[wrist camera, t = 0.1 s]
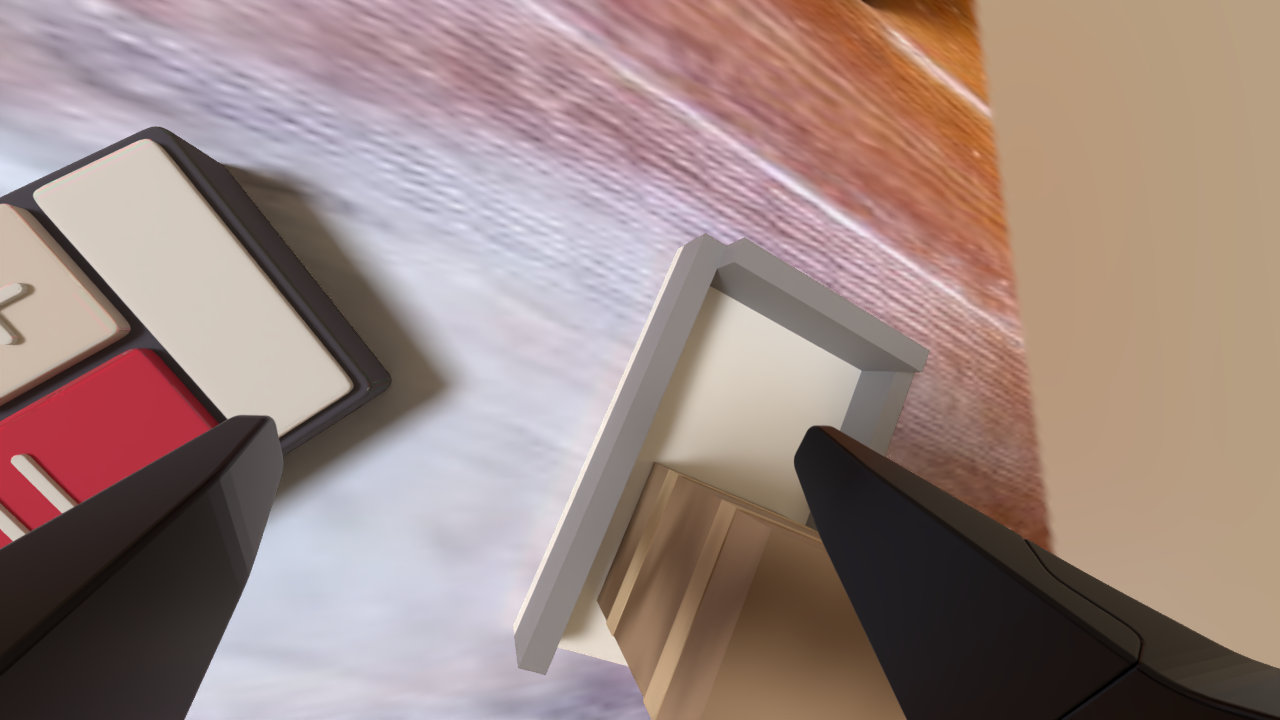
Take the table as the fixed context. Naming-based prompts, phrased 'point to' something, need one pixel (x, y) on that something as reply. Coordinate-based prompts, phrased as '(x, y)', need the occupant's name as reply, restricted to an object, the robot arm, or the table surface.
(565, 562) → the bay
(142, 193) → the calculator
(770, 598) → the block
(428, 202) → the table surface
